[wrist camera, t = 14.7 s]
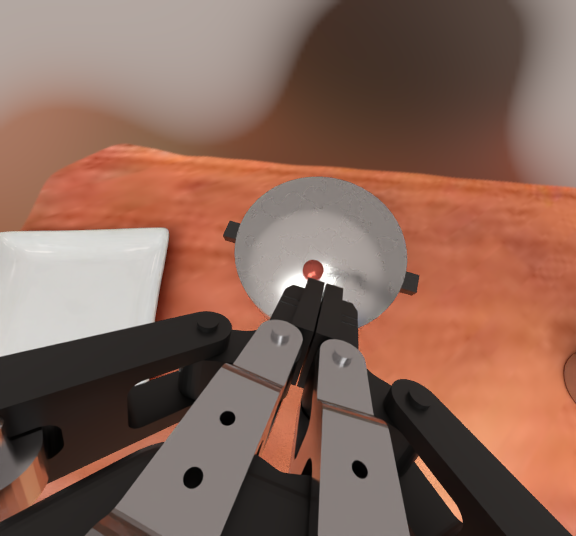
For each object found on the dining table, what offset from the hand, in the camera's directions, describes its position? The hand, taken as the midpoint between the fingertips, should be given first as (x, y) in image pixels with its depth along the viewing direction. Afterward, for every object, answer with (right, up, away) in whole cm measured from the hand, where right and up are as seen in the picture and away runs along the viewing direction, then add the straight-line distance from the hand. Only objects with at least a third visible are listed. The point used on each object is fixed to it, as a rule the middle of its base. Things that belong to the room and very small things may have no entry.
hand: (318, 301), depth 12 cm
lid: (+3, +3, +23) cm, 23 cm away
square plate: (-33, -7, +30) cm, 45 cm away
